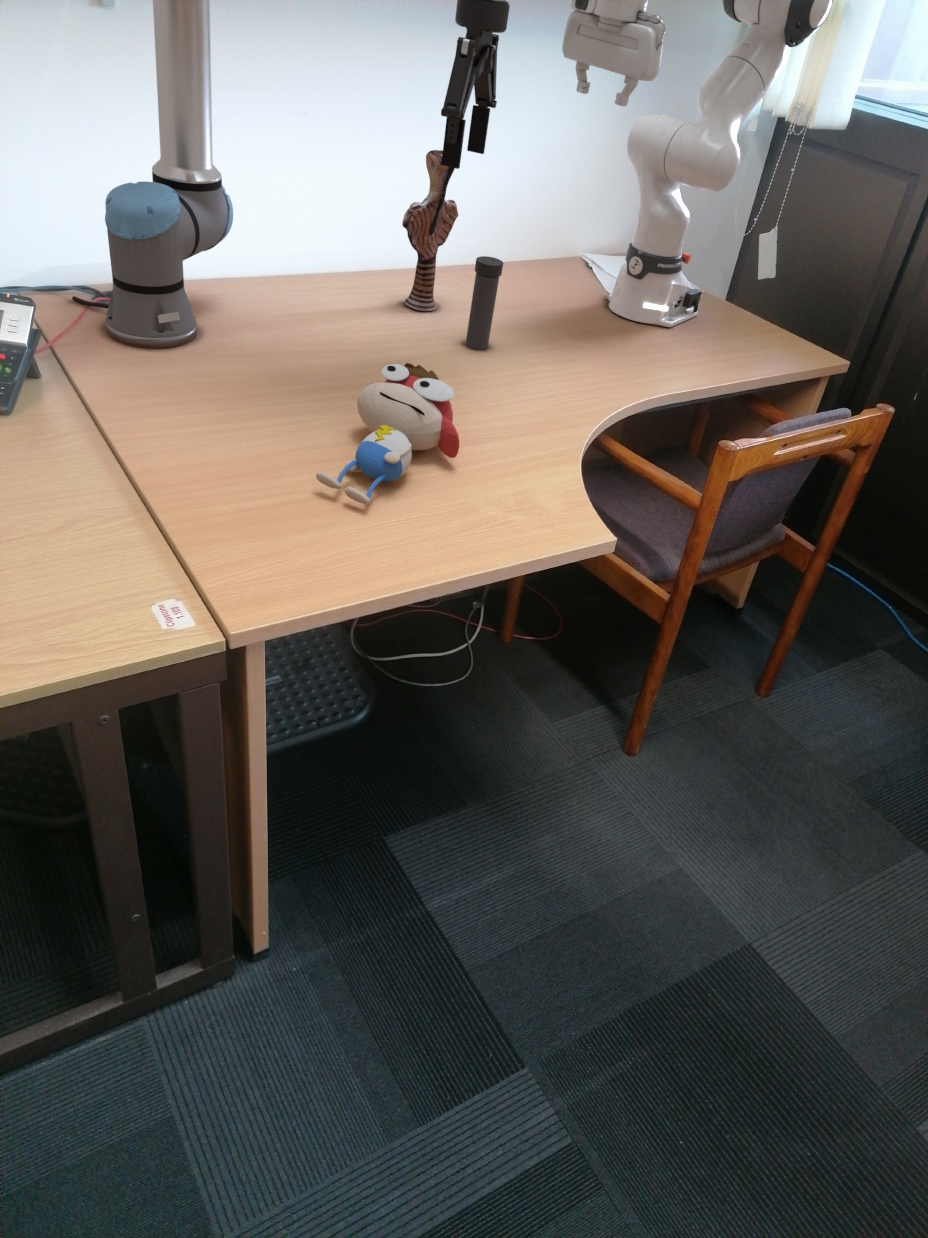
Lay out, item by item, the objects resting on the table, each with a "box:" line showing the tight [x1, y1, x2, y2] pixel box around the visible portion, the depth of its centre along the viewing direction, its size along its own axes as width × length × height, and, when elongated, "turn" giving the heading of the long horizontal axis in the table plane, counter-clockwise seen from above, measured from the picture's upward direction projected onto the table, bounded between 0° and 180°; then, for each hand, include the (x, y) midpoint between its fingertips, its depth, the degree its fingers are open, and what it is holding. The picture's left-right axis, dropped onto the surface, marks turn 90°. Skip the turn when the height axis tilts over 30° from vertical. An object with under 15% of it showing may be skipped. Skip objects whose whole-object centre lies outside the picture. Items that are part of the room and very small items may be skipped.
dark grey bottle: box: [465, 272, 500, 351], centre depth 170 cm, size 4×4×16 cm
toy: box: [315, 362, 460, 505], centre depth 132 cm, size 18×10×30 cm
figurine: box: [401, 149, 459, 312], centre depth 178 cm, size 15×8×30 cm, turn 144°
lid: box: [474, 255, 504, 278], centre depth 165 cm, size 5×5×2 cm
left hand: (463, 159), depth 139 cm, fingers open, 13 cm apart
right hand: (601, 98), depth 159 cm, fingers open, 8 cm apart
